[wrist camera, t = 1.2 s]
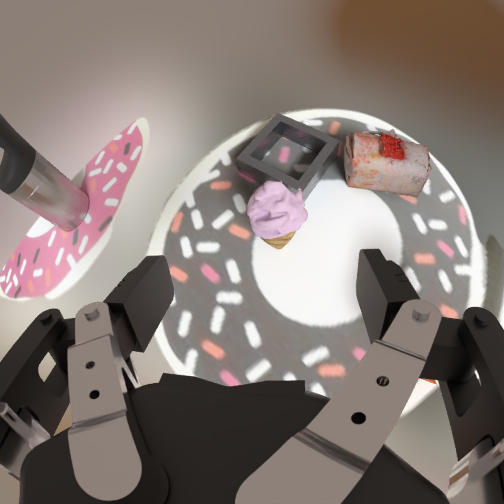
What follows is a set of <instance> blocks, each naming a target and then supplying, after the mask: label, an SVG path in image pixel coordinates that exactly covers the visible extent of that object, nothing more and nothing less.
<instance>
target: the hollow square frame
mask: <svg viewBox="0 0 504 504" xmlns="http://www.w3.org/2000/svg"><path fill="white" fill-rule="evenodd" d="M281 136H283V137H285V138H287V139H289V140H292V141H294V142H296V143H298V144H300V145H302V146H304V147H307V148H309V149H311V150H313V151H315V152H317V153H319V154H318V155H317V157H316V158H315V159H314V161H313V162H312V163H311V165H310V166H309V167H308V169H307V170H306V171H305V173H304V174H303V175H302V177H301V178H300V179H299V181H298V180H296V179H294V178H292V177H291V176H289V175H287V174H285V173H283V172H281V171H279V170H277V169H275V168H273V167H271V166H269V165H267V164H265V163H263V162H261V160H262V158H263V157H264V156H265V155H266V154H267V153H268V151H269V150H270V149H271V148H272V147H273V146H274V144H275V143H276V142H277V141H278V140H279V139H280V138H281ZM338 147H339V140H337V139H335V138H333V137H331V136H329V135H327V134H325V133H323V132H320V131H318V130H316V129H314V128H312V127H309V126H307V125H305V124H302V123H300V122H298V121H295V120H293V119H291V118H288V117H286V116H283V115H281V114H277V115H276V116H275V117H274V118H273V119H272V120H271V121H270V122H269V123H268V124H267V125H266V126H265V127H264V128H263V129H262V131H261V132H260V133H259V134H258V135H257V136H256V137H255V138H254V139H253V140H252V141H251V143H250V144H249V145H248V146H247V147H246V148H245V149H244V150H243V151H242V153H241V154H240V155H239V156H238V157H237V158H236V160H237V163H238V166H239V169H240V172H241V173H243V174H245V175H246V176H248V177H250V178H252V179H254V180H256V181H258V182H260V183H262V184H263V185H264V183H265V182H267V181H274V182H281V181H282V184H283V185H284V186H285V187H286V188H287V189H288V190H289V191H291V192H292V193H296V192H297V191H298V189H299V188H300V189H301V191H302V198H303V200H304V202H305V200H306V199H307V197H308V196H309V194H310V193H311V192H312V190H313V189H314V187H315V186H316V185H317V183H318V182H319V180H320V179H321V177H322V176H323V175H324V173H325V172H326V170H327V169H328V168H329V166H330V165H331V163H332V162H333V160H334V159H335V158H336V156H337V153H338Z"/></svg>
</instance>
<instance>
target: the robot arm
mask: <svg viewBox="0 0 504 504" xmlns="http://www.w3.org/2000/svg"><path fill="white" fill-rule="evenodd" d="M0 147H1V148H3V149H4V155H3V159H2V162H1V165H0V189H1V190H2V191H3V192H5V193H6V194H8V195H9V196H11V197H12V198H13V199H15V200H16V201H18V202H20V203H21V204H23V205H24V206H26V207H28V208H29V209H30V210H32V211H33V212H35V213H36V214H38V215H40V216H41V217H43V218H44V219H46V220H47V221H49V222H51V223H52V224H54V225H55V226H57V227H59V228H60V229H62V230H64V231H71V230H73V229H75V228H76V227H77V226H78V225H79V224H80V223H81V222H82V221H83V219H84V217H85V216H86V213H87V211H88V207H89V198H88V196H87V194H86V193H85V192H83V191H82V190H81V189H80V188H79V187H77V186H76V185H75V184H74V183H73V182H72V181H70V180H69V179H68V178H67V177H66V176H65V175H63V174H62V173H61V172H60V171H59V170H58V169H56V168H55V167H54V166H53V165H52V164H51V163H50V162H49V161H47V160H46V159H45V158H44V157H43V156H42V155H41V154H40V153H38V152H37V151H36V150H35V149H34V148H33V147H32V146H30V144H29V143H28V142H26V141H25V140H24V139H23V138H22V137H21V136H20V135H19V134H18V133H17V132H16V131H15V130H14V129H13V128H12V127H11V125H10V124H9V123H8V122H7V121H6V120H5V119H4V117H3V116H2V115H1V114H0ZM356 294H357V299H358V302H359V306H360V309H361V312H362V315H363V318H364V322H365V325H366V328H367V332H368V335H369V339H370V342H371V346H370V348H369V349H368V351H367V352H366V354H365V355H364V356H363V358H362V359H361V361H360V362H359V363H358V365H357V366H356V368H355V369H354V370H353V372H352V373H351V374H350V376H349V377H348V378H347V379H346V381H345V382H344V383H343V385H342V386H341V387H340V388H339V390H338V391H337V392H336V393H335V395H334V396H333V397H332V398H331V399H330V398H328V397H325V396H323V395H320V394H317V393H313V392H309V391H305V380H296V381H263V382H257V383H251V384H245V385H238V386H230V387H229V386H223V385H220V384H217V383H213V382H210V381H207V380H204V379H201V378H197V377H194V376H185V375H176V374H168V373H163V374H162V377H161V379H160V381H159V383H153V384H148V385H144V386H141V384H140V381H139V378H138V375H137V372H136V369H135V366H134V363H133V360H132V358H131V356H130V354H131V352H132V351H136V352H143V353H144V351H145V349H146V348H147V346H148V344H149V342H150V340H151V338H152V337H153V335H154V333H155V331H156V329H157V328H158V326H159V324H160V322H161V320H162V318H163V317H164V315H165V313H166V311H167V310H168V308H169V306H170V304H171V302H172V301H173V297H174V287H173V283H172V279H171V275H170V271H169V268H168V264H167V260H166V258H165V256H163V255H160V256H146V257H145V258H144V260H143V261H142V262H141V263H140V264H139V265H138V266H137V267H136V268H135V269H133V270H132V271H130V272H129V273H127V275H126V276H125V277H124V278H123V279H122V281H120V283H119V284H118V285H117V287H115V288H114V290H113V291H112V292H111V293H110V294H109V295H108V297H107V298H106V299H105V300H104V301H103V302H94V303H91V304H88V305H86V306H84V307H83V308H81V309H80V310H79V311H78V313H77V314H76V317H75V318H71V319H64V318H63V316H62V314H61V312H60V310H58V309H49V310H46V311H44V312H42V313H41V314H40V315H38V316H37V317H36V318H35V320H34V321H33V322H32V323H31V324H30V325H29V327H28V328H27V329H26V330H25V332H24V333H23V334H22V335H21V336H20V338H19V339H18V340H17V341H16V342H15V344H14V345H13V346H12V348H11V349H10V350H9V351H8V353H7V354H6V355H5V357H4V358H3V359H2V361H1V362H0V468H1V469H2V470H3V471H5V472H7V473H9V474H10V475H11V476H13V477H14V478H16V479H17V480H19V481H20V497H19V504H504V329H503V328H502V326H501V325H500V323H499V322H498V320H497V318H496V317H495V316H494V315H493V314H492V313H491V312H490V311H488V310H486V309H484V308H481V307H470V308H468V309H466V311H465V312H464V314H463V317H462V319H454V318H446V317H442V316H441V312H440V310H439V309H438V308H437V307H436V306H435V305H434V304H432V303H430V302H428V301H425V300H421V299H420V298H419V296H418V294H417V293H416V291H415V289H414V288H413V286H412V284H411V283H410V282H409V280H408V278H407V276H405V273H404V272H403V270H402V269H401V267H400V266H399V265H397V264H396V263H394V262H393V261H392V260H388V261H386V259H385V258H384V256H383V254H382V253H381V251H380V250H379V249H361V250H360V253H359V262H358V273H357V282H356ZM48 352H49V353H50V355H51V356H52V357H53V359H54V361H55V362H56V365H55V366H54V368H53V369H52V371H51V373H50V374H49V376H48V377H47V379H46V381H45V382H43V380H42V379H41V378H40V376H39V373H38V367H39V364H40V363H41V361H42V360H43V358H44V357H45V355H46V354H47V353H48ZM476 370H477V373H478V375H479V378H480V381H481V386H480V383H479V381H478V378H477V376H476V374H475V371H476ZM418 378H421V379H430V380H438V383H439V386H440V389H441V392H442V396H443V399H444V403H445V406H446V410H447V414H448V418H449V422H450V426H451V430H452V434H453V438H454V443H455V448H456V453H457V458H458V462H457V463H456V465H455V466H454V467H453V469H452V471H451V473H450V478H449V486H448V492H447V495H445V494H444V493H443V492H442V491H441V490H440V489H439V488H437V487H436V486H435V485H434V484H432V483H431V482H430V481H429V480H427V479H426V478H425V477H424V476H422V475H421V474H420V473H419V472H417V471H416V470H415V469H414V468H413V467H411V466H410V465H409V464H408V463H407V462H405V461H404V460H403V459H402V458H401V457H399V456H398V455H397V454H395V452H393V451H392V450H391V449H390V448H389V447H387V446H386V445H385V444H384V442H385V441H386V439H387V437H388V435H389V434H390V432H391V431H392V429H393V427H394V425H395V424H396V422H397V420H398V418H399V417H400V415H401V413H402V411H403V409H404V407H405V405H406V403H407V401H408V399H409V397H410V395H411V393H412V391H413V389H414V387H415V385H416V383H417V381H418ZM69 403H70V406H71V416H72V426H71V427H69V428H68V429H66V430H64V431H62V432H60V433H59V434H57V435H55V436H53V435H54V433H55V431H56V429H57V427H58V425H59V423H60V421H61V419H62V417H63V415H64V413H65V411H66V409H67V407H68V405H69Z"/></svg>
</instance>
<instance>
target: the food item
mask: <svg viewBox="0 0 504 504" xmlns="http://www.w3.org/2000/svg"><path fill="white" fill-rule="evenodd" d="M393 130H394V129H392V130H390V132H387V133H382V132H376V131H364V132H359V133H358V132H356V133H354V135H353V134H352V133H351V134H349V135H347V136H346V144H345V147H344V167H345V174H346V180H347V184H348V187H354V188H361V189H368V190H377V191H382V192H389V193H395V194H401V195H409V196H414V197H418V194H419V193H420V192H421V190H422V189H423V187H424V184H425V183H426V181H427V180H428V176H429V174H430V171H431V169H432V168H431V166H430V157H429V152H428V149H427V147H426V146H425V145H420V144H416V143H413V142H408V141H404V140H401V139H400V138H399V139H397V135H396V134H395V131H393ZM374 134H379V135H381V136H377V135H374ZM383 134H384V135H383ZM393 137H394V138H393ZM395 137H396V138H395Z"/></svg>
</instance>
